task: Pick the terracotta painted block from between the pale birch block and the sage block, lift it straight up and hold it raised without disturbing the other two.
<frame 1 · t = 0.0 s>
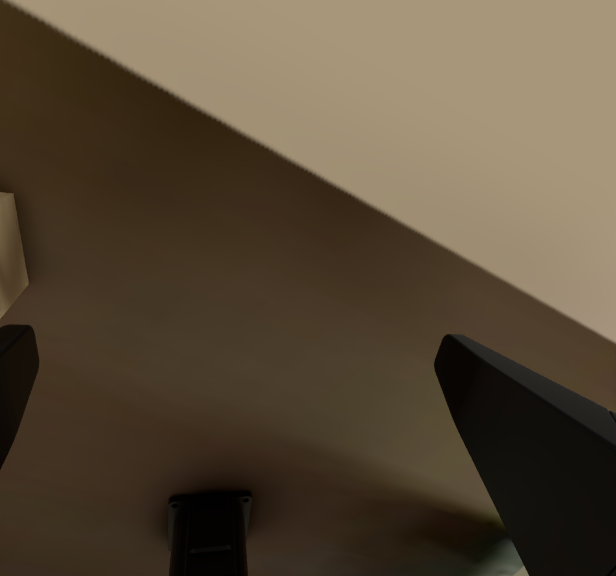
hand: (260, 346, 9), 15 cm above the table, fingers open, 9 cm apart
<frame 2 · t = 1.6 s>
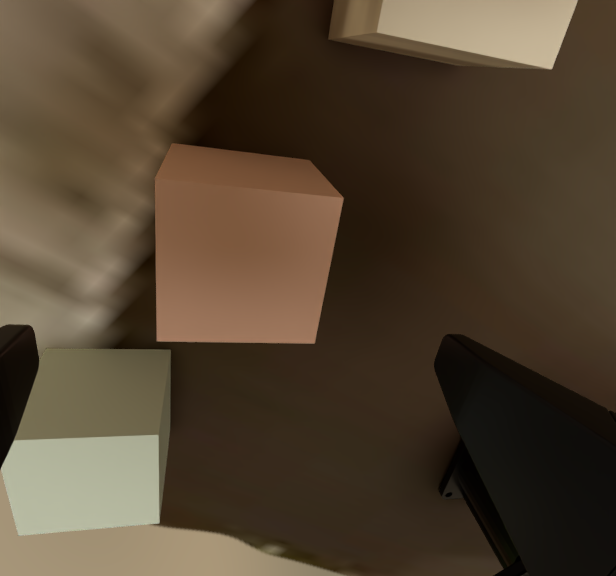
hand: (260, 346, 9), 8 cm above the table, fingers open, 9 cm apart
sage block: (114, 391, 19), on the table
terracotta block: (237, 216, 16), on the table
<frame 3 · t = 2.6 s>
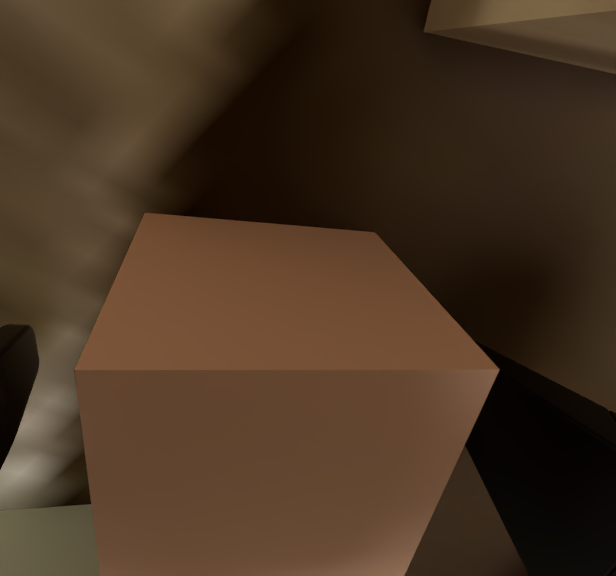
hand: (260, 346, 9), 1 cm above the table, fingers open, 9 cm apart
sage block: (69, 554, 13), on the table
terracotta block: (255, 318, 10), on the table
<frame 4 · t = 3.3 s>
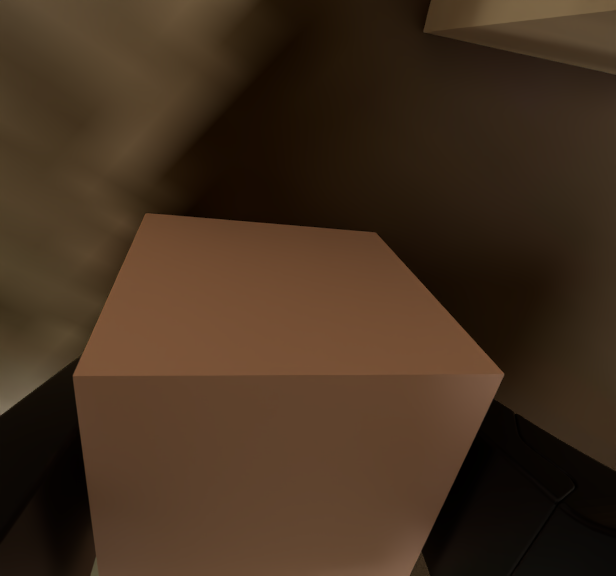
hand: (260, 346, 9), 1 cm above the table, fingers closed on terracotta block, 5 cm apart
terracotta block: (256, 320, 10), on the table, touching gripper
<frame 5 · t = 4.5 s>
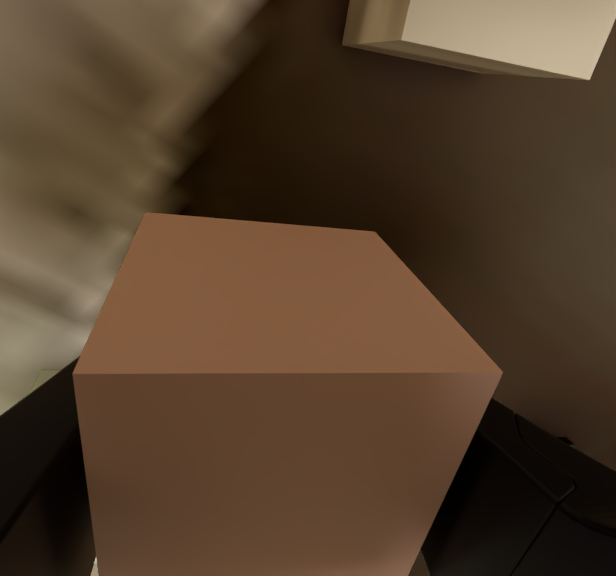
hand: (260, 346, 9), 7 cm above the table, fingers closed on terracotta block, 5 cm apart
terracotta block: (256, 319, 10), point 6 cm above the table, touching gripper
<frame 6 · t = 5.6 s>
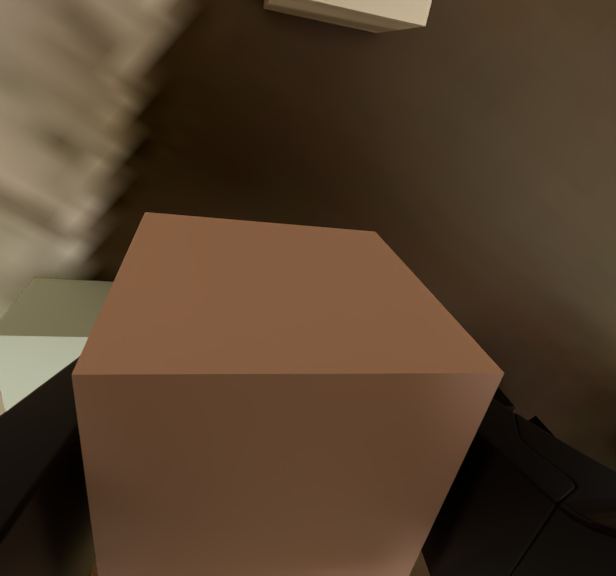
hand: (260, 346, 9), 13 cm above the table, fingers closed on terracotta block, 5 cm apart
sage block: (93, 321, 22), on the table
terracotta block: (256, 319, 10), point 12 cm above the table, touching gripper
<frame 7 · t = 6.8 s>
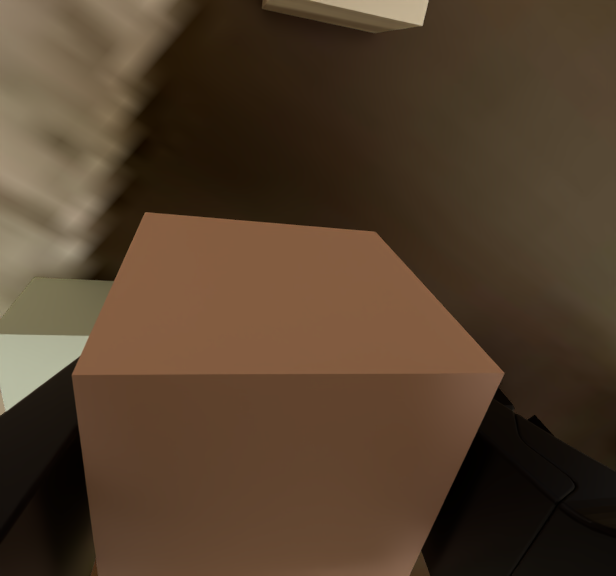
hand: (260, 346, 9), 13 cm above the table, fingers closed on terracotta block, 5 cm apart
sage block: (93, 320, 22), on the table
terracotta block: (256, 319, 10), point 12 cm above the table, touching gripper
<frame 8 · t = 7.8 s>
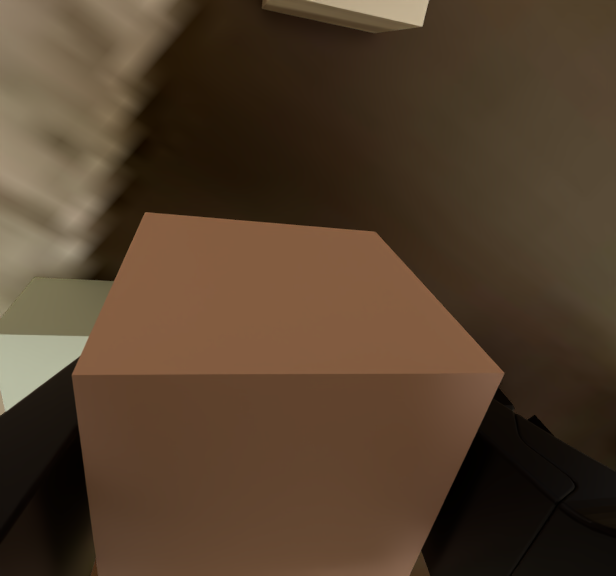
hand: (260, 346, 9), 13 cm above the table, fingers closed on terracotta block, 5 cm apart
sage block: (93, 320, 22), on the table
terracotta block: (256, 319, 10), point 12 cm above the table, touching gripper
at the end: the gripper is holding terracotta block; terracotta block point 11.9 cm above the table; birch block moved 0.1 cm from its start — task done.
